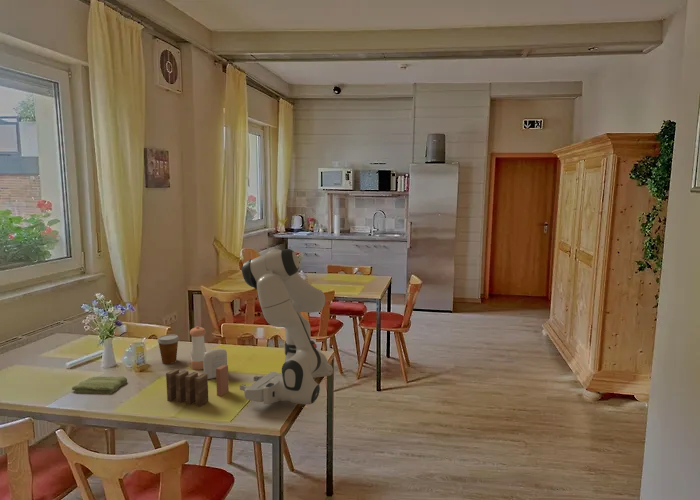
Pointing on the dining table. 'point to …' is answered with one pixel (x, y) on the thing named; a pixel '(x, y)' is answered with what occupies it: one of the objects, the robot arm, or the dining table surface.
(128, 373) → the dining table surface
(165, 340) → the disposable coffee cup
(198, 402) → the walnut domino
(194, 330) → the pepper shaker
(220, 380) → the terracotta domino
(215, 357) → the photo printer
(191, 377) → the walnut domino
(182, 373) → the walnut domino
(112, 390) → the washcloth
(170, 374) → the walnut domino
